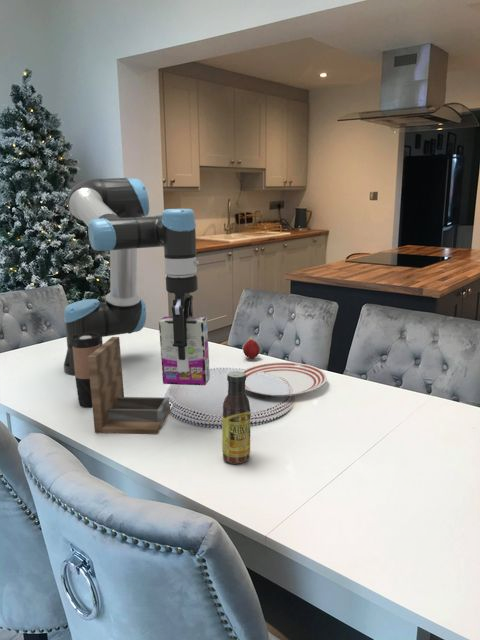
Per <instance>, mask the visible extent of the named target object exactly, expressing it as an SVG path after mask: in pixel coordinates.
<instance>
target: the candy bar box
mask: <svg viewBox="0 0 480 640" xmlns="http://www.w3.org/2000/svg"><path fill="white" fill-rule="evenodd" d="M186 326H187V345H188V357H189V372H178V370H177V350H176V347H173V344H174V332H173V316H163V317H162V318H161V319H160V320H158V328H159V329H158V330H159V340H160V341H159V344H160V359H161V372H162V373H161V376H162V385H184V386H186V385H187V386H206V385H207V383H209V381H210V378H211V372H210V358H209V356H210V355H209V335H208V334H209V333H208V316H193V317H188V318H187V321H186Z"/></svg>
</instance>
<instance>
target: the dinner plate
mask: <svg viewBox="0 0 480 640" xmlns="http://www.w3.org/2000/svg"><path fill="white" fill-rule="evenodd" d="M241 372H244V373H245V374H246V379H248V378H249V377H250V376H252V375H254V374H257V373H258V372H264V373H267V374H271V375H275V376H279V377H282V378H284V379H286V380H287V381H288V382H289V384H290V385H291V386H292V388H293V394H266V393H260V392H256V391H253V390H251V389H250V388H249V387H247V385H246V382H245V391H248V392H251V393H256V394H260V395H263V396H268V395H269V396H270V397H278V396H285V397H290V396H289V395H292V396H291V397H294V396H299V395H304V394H307V393H310V392H313V391H316V390H318V389H319V388H322V386H324V384H325V383H326V382H327V374H326V372H324V371H323V370H322V369H320V368H318V367H315V366H313V365H311V364H305V363H299V362H289V361H279V362H276V361H275V362H266V363H260V364H257V365H256V364H255V365H253V366H250V367H247V368H245V369H244V370H242V371H241ZM269 396H268V397H269Z"/></svg>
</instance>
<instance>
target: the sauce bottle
mask: <svg viewBox="0 0 480 640" xmlns="http://www.w3.org/2000/svg"><path fill="white" fill-rule="evenodd" d="M226 380H227V383H228V384H227V395H226V396H225V398H224V401H223V403H222V415H221V416H222V423H221V424H222V427H221V430H222V433H221V434H222V438H221V440H222V441H221V443H222V444H221V445H222V448H221V449H222V459H223V460H224V461H225V462H226V463H230V464H236V465H237V464H243V463H245V462H247V461H249V459H250V453H251V419H252V418H251V414H252V412H251V406H250V400H249V397H248V396H247V393H246V391H247V390H246V389H245V381H246V374H245V373H244V372H242V371H240V370H239V371H238V370H237V371H230V372H228V373H227V377H226Z"/></svg>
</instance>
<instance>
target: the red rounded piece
mask: <svg viewBox="0 0 480 640" xmlns="http://www.w3.org/2000/svg"><path fill="white" fill-rule="evenodd" d="M260 351H261V347H260V346H259V344H258V343H257V341H255V340H254V339H253V338H252V337H250V338H249V340H248V341H246V343H244V345H243V349H242V353H243V354H244V355H245V357H246V358H248V359H249V360H251V361H253V360H254V359H256V358H257V357H258V356H259V354H260Z"/></svg>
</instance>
